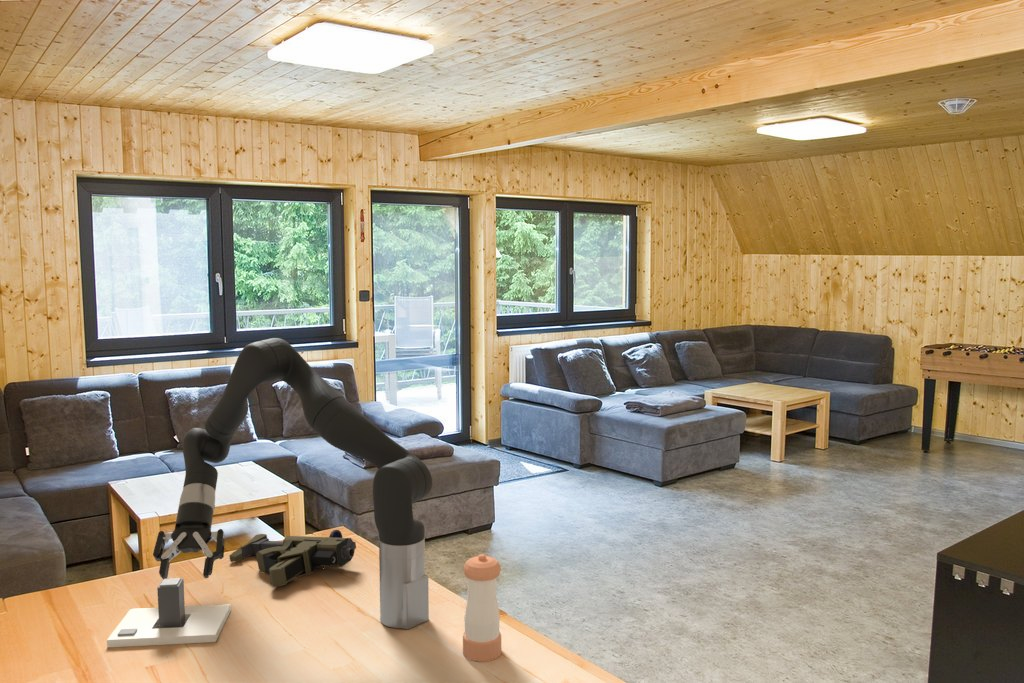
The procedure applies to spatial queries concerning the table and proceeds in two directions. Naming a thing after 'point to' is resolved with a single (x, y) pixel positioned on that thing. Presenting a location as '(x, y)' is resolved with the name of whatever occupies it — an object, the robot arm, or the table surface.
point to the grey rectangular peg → (171, 603)
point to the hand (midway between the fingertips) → (184, 577)
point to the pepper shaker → (482, 610)
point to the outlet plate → (144, 631)
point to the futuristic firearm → (296, 554)
